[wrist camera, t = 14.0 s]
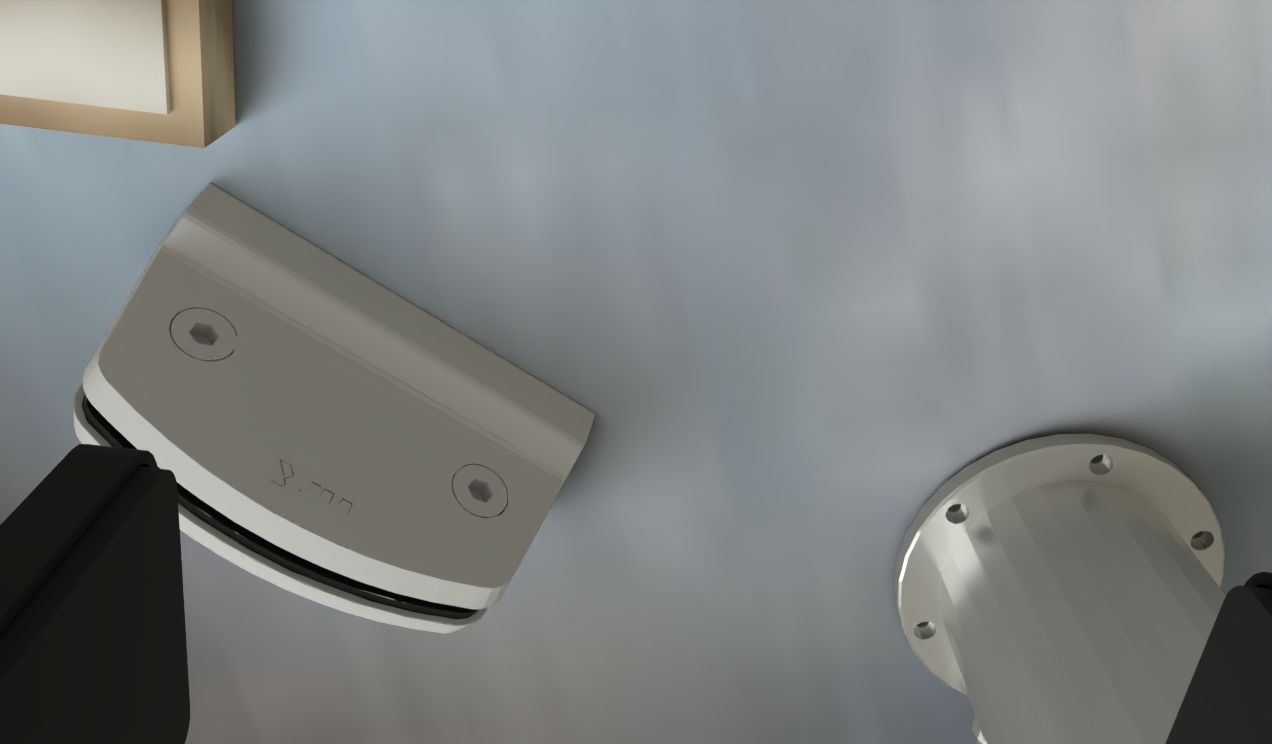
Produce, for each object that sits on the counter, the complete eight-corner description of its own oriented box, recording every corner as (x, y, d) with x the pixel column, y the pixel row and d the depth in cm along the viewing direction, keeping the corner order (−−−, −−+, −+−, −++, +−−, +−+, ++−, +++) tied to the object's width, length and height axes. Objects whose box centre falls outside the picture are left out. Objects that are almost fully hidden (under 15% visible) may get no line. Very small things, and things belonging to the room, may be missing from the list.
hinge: (604, 419, 43) (534, 636, 36) (545, 482, 46) (469, 694, 39) (199, 176, 40) (29, 364, 32) (163, 261, 43) (1, 451, 35)
